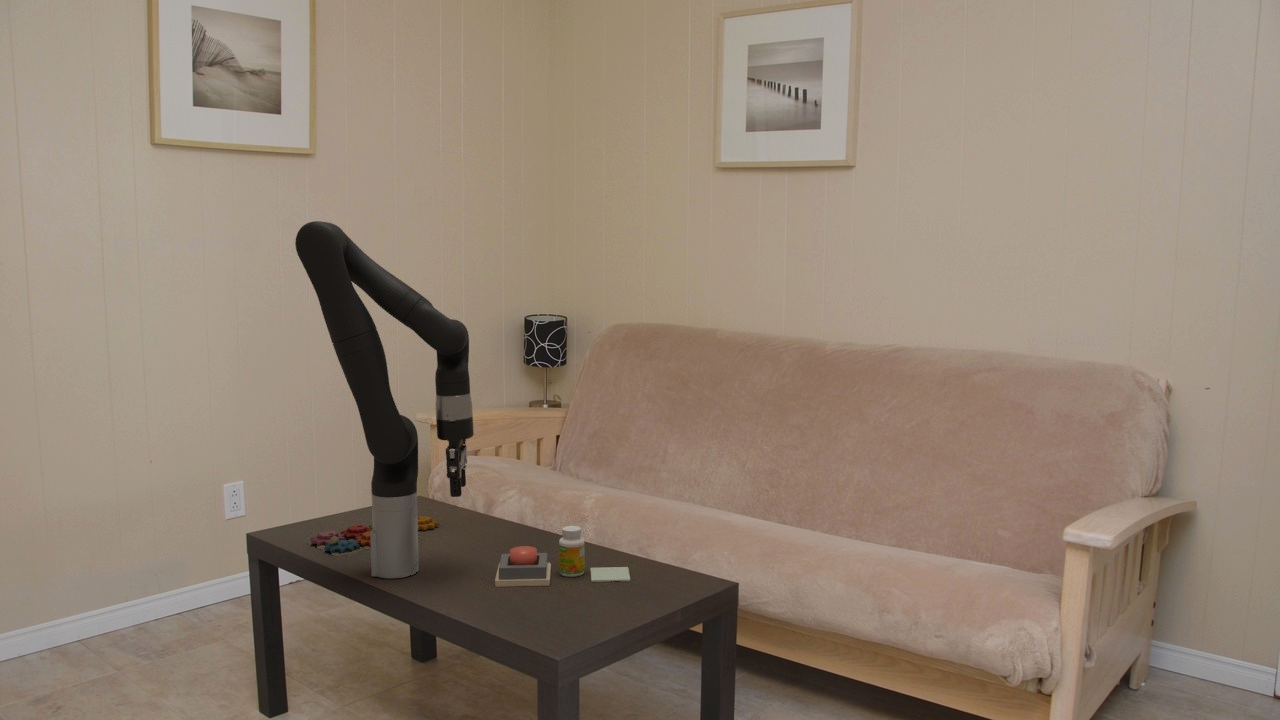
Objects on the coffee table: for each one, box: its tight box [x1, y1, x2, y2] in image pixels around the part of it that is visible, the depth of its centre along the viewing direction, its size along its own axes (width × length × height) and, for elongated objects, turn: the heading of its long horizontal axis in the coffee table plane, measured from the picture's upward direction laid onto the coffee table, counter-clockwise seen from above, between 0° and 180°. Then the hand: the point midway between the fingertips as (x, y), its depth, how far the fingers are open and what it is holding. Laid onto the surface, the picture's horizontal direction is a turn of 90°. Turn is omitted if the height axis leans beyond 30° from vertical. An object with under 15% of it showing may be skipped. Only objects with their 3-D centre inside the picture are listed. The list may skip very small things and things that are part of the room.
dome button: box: [509, 545, 538, 566], centre depth 199 cm, size 6×6×3 cm
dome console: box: [494, 552, 552, 588], centre depth 200 cm, size 11×11×4 cm
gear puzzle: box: [309, 515, 440, 554], centre depth 228 cm, size 31×16×4 cm, turn 133°
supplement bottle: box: [558, 525, 586, 578], centre depth 202 cm, size 5×5×10 cm
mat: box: [590, 566, 631, 583], centre depth 201 cm, size 8×8×1 cm
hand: (458, 491), depth 202 cm, fingers open, 8 cm apart
